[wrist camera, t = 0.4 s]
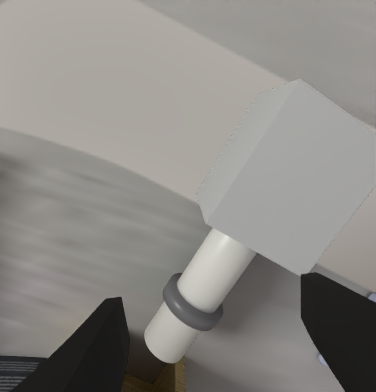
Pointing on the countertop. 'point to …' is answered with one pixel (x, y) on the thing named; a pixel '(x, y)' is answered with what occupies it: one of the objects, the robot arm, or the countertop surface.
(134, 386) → the socket
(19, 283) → the countertop surface
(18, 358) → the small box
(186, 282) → the tube
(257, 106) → the light grey block
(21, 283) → the countertop surface
